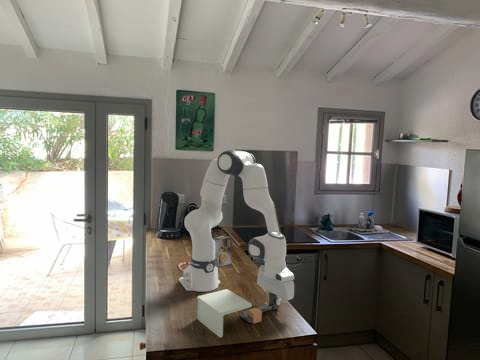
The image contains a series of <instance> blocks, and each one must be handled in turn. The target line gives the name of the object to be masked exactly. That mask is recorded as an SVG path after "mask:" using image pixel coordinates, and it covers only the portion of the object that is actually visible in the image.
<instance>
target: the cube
mask: <svg viewBox="0 0 480 360" xmlns="http://www.w3.org/2000/svg"><path fill="white" fill-rule="evenodd" d="M257 308H258V307H252V308H249V309H247V311H248V315H249V316H250V317H252V318H253V323H252V324H257V323H259V322H262V317H263V316H262V315H263V312H262V311H261V310H259V309H257Z"/></svg>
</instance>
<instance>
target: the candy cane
mask: <svg viewBox="0 0 480 360" xmlns="http://www.w3.org/2000/svg"><path fill="white" fill-rule="evenodd" d="M190 263H191V262H185V261H184V262H181V263H179V264H178V265H177V269H179V271H181V272H182V273H184V270H185V269H183V268H182V267H181V266H182V265H188V266H189V265H190Z"/></svg>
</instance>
